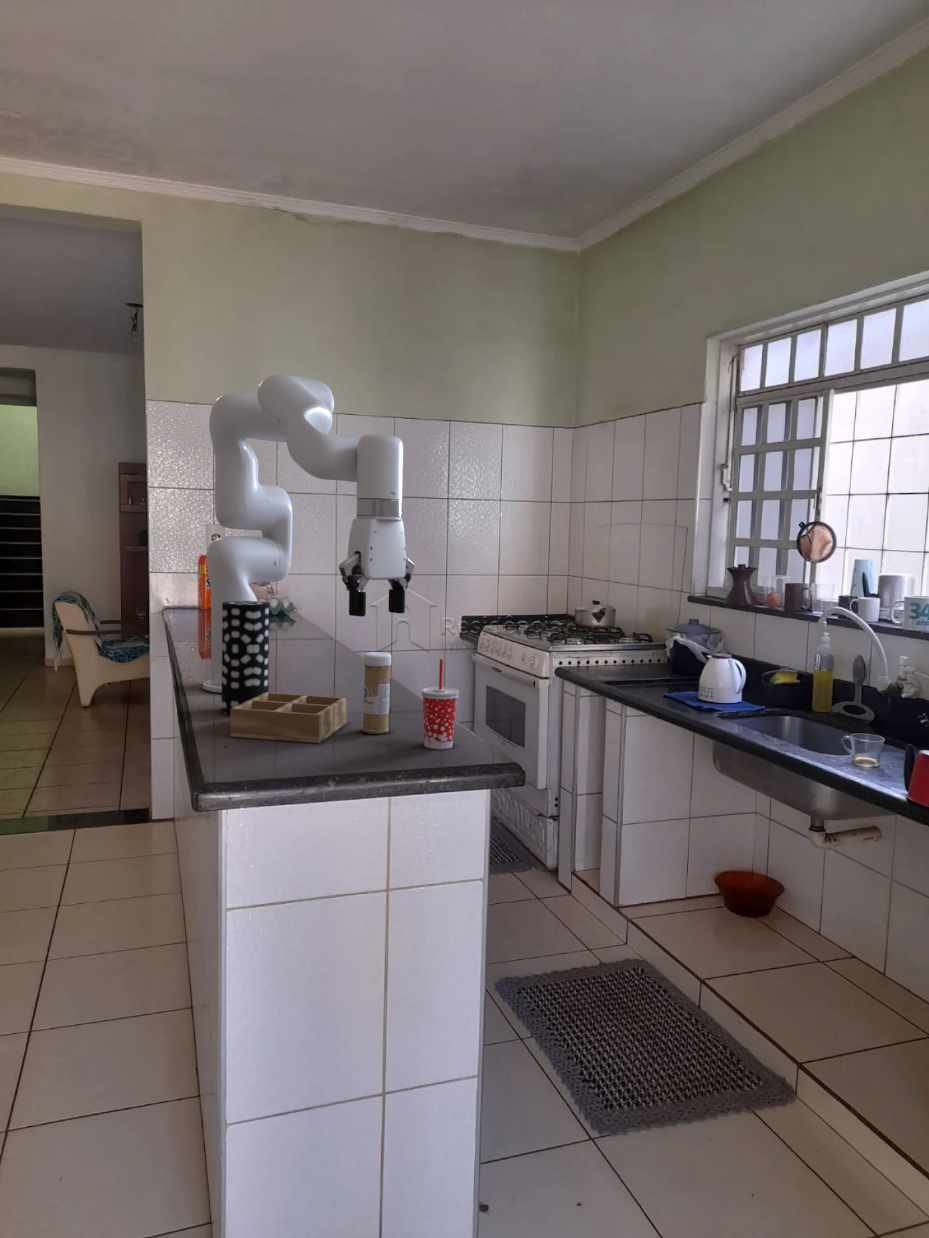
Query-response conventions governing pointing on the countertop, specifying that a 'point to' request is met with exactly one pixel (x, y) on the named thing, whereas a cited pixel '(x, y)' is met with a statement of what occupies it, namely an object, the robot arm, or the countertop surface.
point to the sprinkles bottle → (376, 692)
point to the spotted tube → (244, 652)
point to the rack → (288, 717)
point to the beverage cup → (439, 714)
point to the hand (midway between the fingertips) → (377, 614)
